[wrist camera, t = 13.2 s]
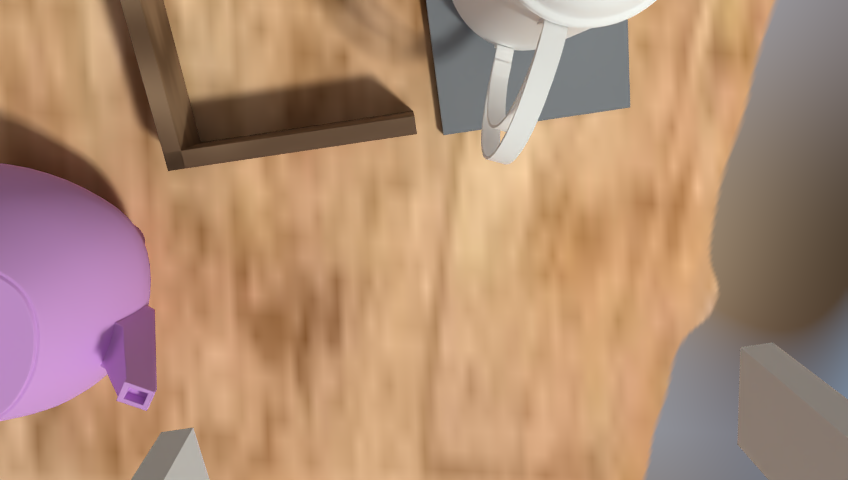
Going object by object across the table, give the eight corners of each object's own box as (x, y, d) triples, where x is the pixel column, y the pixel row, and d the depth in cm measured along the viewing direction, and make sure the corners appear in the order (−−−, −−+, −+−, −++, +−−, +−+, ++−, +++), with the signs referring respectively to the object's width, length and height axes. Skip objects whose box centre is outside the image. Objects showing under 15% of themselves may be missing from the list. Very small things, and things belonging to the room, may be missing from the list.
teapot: (169, 427, 50) (76, 576, 35) (-71, 344, 47) (-280, 471, 32) (246, 230, 45) (173, 311, 30) (-17, 122, 41) (-237, 155, 27)
